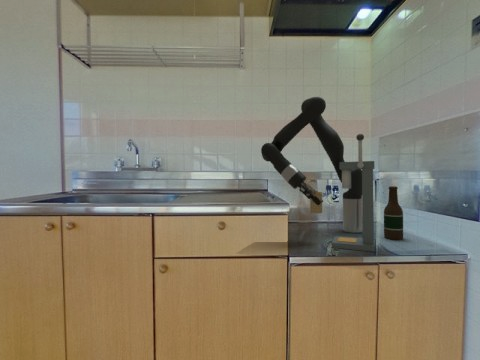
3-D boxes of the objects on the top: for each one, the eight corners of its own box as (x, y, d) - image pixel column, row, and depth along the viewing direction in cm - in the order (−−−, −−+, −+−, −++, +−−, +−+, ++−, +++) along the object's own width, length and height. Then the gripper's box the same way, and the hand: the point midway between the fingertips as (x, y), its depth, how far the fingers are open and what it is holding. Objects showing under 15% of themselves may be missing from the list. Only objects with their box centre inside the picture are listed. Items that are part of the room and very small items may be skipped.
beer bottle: (392, 240, 119) (392, 186, 118) (380, 236, 126) (379, 186, 126) (407, 239, 120) (407, 186, 120) (394, 235, 128) (393, 186, 127)
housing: (312, 211, 121) (312, 189, 120) (322, 212, 119) (322, 189, 118) (310, 213, 117) (310, 189, 116) (320, 213, 115) (320, 189, 115)
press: (335, 240, 121) (334, 139, 120) (374, 243, 114) (373, 136, 113) (331, 247, 109) (330, 135, 108) (375, 251, 102) (374, 131, 101)
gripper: (295, 170, 114) (324, 199, 109) (302, 170, 127) (329, 196, 122) (283, 182, 117) (311, 211, 111) (291, 181, 129) (317, 207, 124)
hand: (320, 203), depth 117 cm, fingers closed on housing, 4 cm apart
